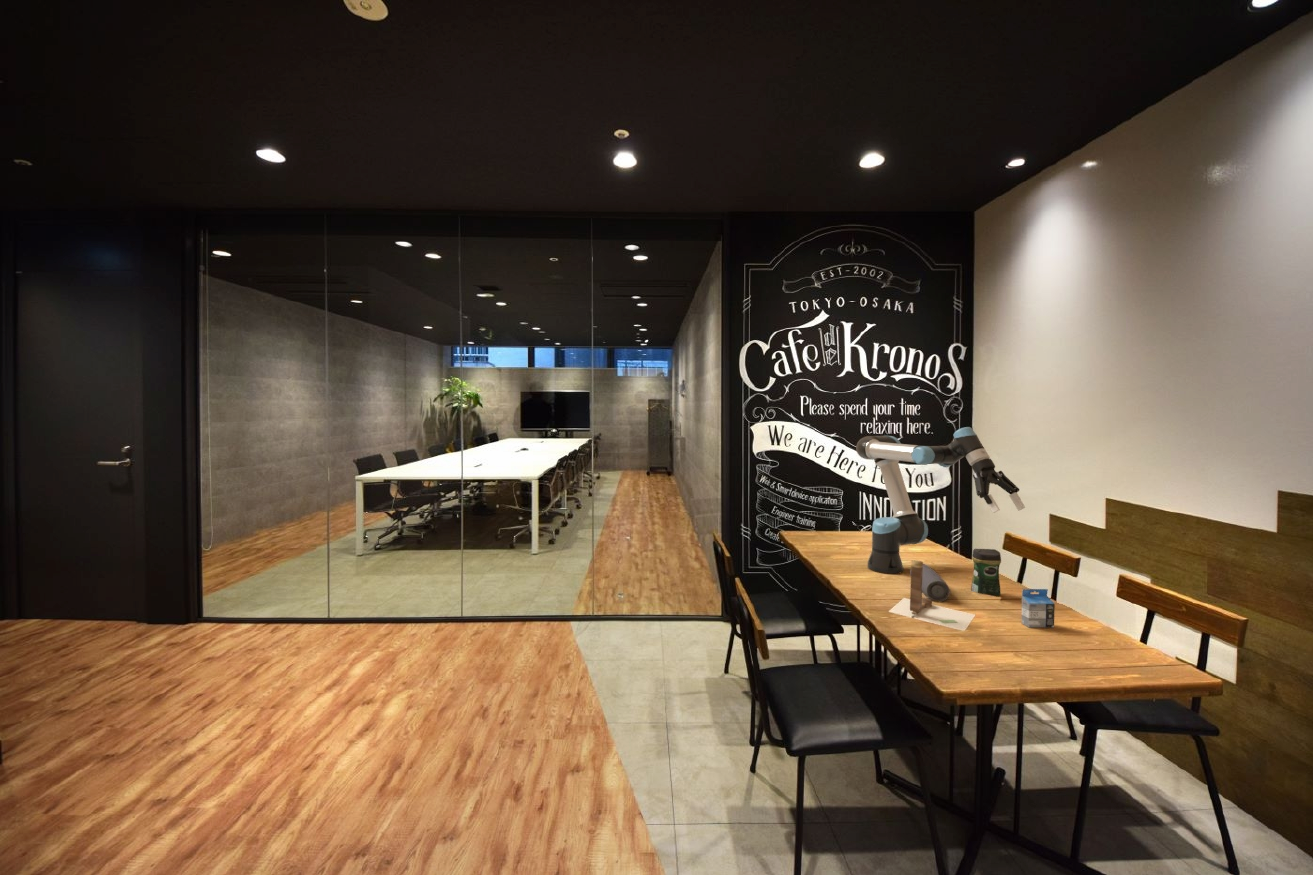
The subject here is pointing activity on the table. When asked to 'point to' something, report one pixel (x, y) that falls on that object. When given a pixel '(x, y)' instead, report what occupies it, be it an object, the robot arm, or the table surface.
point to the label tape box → (1037, 608)
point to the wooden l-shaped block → (917, 588)
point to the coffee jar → (986, 572)
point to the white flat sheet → (935, 615)
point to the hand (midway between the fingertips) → (1009, 510)
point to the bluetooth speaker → (934, 585)
